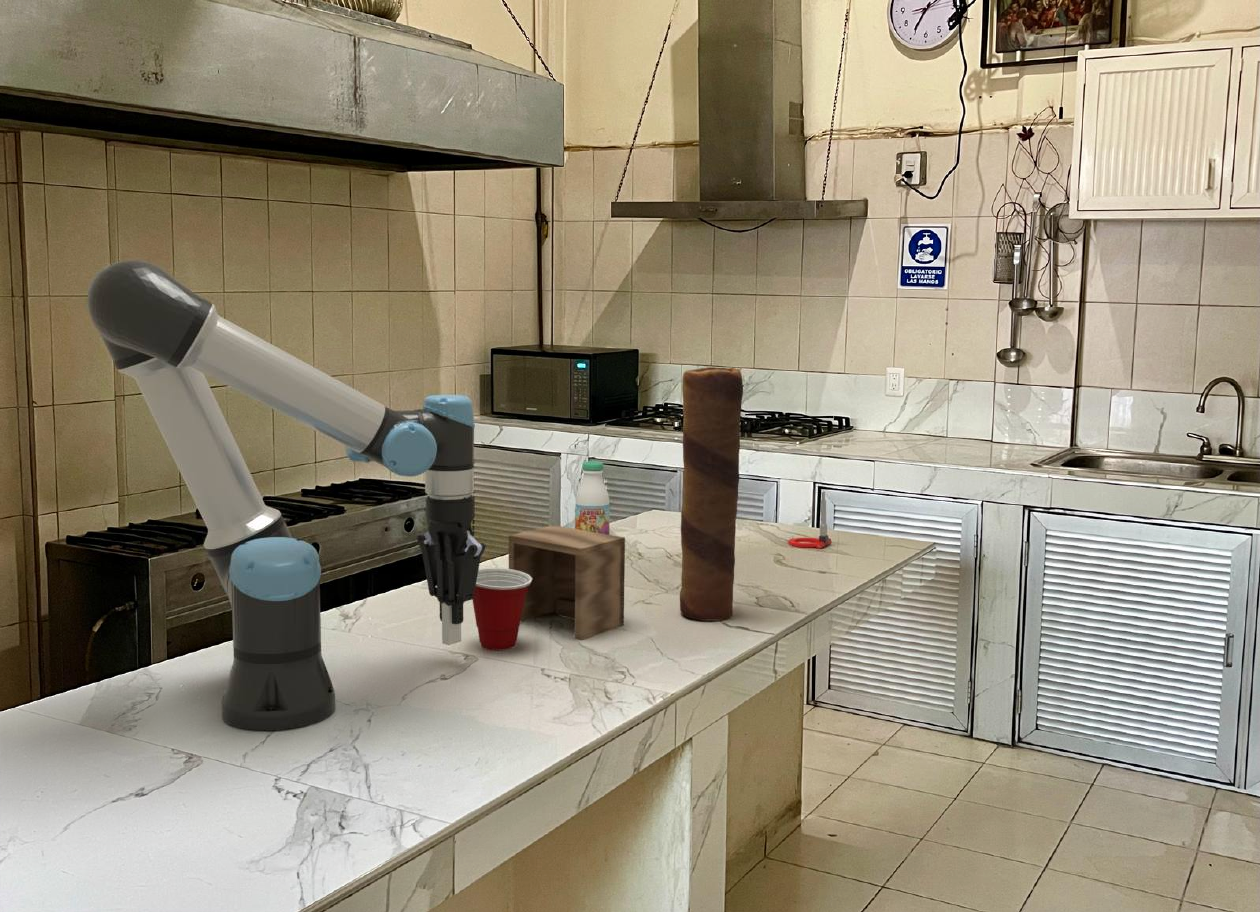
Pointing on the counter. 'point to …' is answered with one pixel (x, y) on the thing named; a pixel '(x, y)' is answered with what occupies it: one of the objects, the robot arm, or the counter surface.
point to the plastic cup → (499, 606)
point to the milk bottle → (592, 501)
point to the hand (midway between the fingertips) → (451, 642)
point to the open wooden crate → (572, 576)
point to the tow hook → (823, 537)
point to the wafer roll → (709, 490)
